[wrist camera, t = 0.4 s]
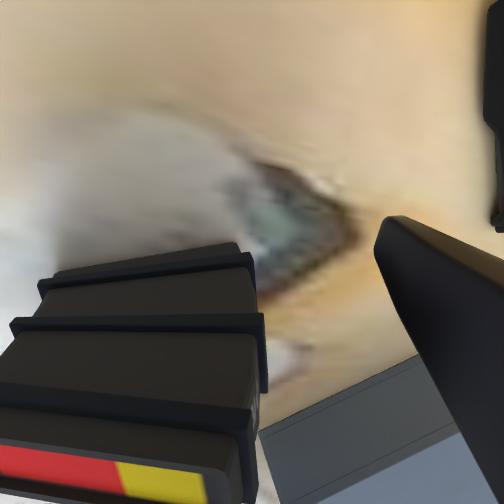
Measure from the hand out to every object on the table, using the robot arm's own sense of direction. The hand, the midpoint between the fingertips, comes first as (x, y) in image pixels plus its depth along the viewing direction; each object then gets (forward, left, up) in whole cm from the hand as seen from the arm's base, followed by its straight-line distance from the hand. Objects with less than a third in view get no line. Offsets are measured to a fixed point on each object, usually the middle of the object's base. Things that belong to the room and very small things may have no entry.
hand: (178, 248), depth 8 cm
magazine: (-8, -4, -15) cm, 18 cm away
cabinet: (-12, -29, -15) cm, 35 cm away
